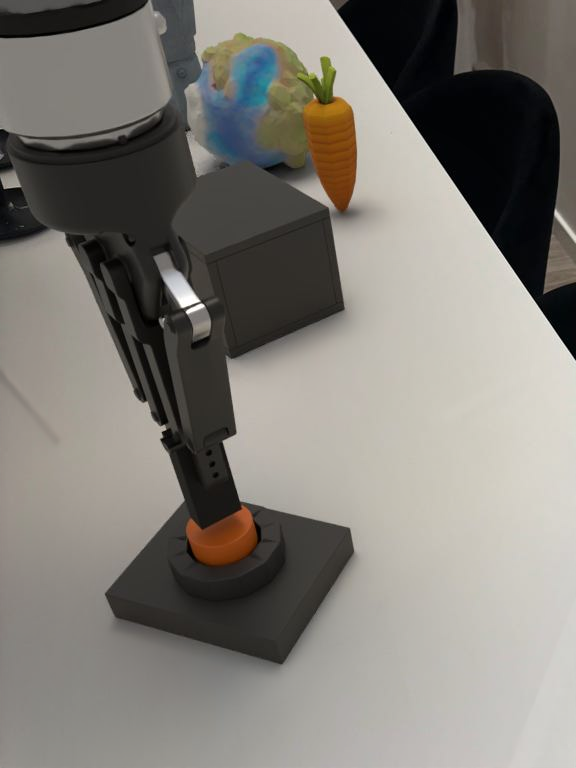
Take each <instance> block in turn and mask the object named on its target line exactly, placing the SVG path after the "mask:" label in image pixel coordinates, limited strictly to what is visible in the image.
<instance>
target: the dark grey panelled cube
mask: <svg viewBox="0 0 576 768" xmlns="http://www.w3.org/2000/svg"><path fill="white" fill-rule="evenodd" d="M172 224H173V225H172V227H173V229H174V230H175V231H176V234H177V235H180V236H181V237H182V239H183V240H184V242H185V244H186V246H187V248H188V251H189V255H190V259H191V262H192V272H191V281H192V284H193V288H194V291H195V294H196V296H197V297H198V299H199V300H202V299H204V298H207V297H209V296H212V295H215V296H216V297H218V298H219V299H220V301H221V302H222V304H223V306H224V308H225V314H226V319H225V326H224V332H223V340H224V347H225V354H226V356H227V357H229V358H230V359H234V358H236V357H239V356H240V355H243V354H245V353H247V352H250V351H252V350H255V349H256V348H259V347H261V346H263V345H266V344H267V343H270V342H272V341H274V340H277V339H279V338H281V337H283V336H286V335H288V334H291V333H293V332H295V331H297V330H299V329H301V328H304V327H306V326H308V325H312V324H313V323H315V322H317V321H321V320H322V319H324V318H326V317H329V316H332V315H334V314H336V313H338V312H340V311H343V310H345V309H346V307H345V302H344V295H343V288H342V281H341V276H340V270H339V262H338V257H337V251H336V244H335V238H334V231H333V224H332V218H331V213H330V207H329V206H327V205H325V204H323V203H321V202H320V201H318V200H317V199H314V198H313V197H311V196H310V195H308V194H306V193H305V192H303V191H301V190H300V189H298V188H296V187H294V186H293V185H291V184H290V183H287V181H284V180H282V179H281V178H279V177H277V176H276V175H274V174H272V173H271V172H269V171H267V170H266V169H265V168H263V169H262V168H260V167H259V166H257V165H255V164H253V163H252V162H250V161H248V160H246V161H243V162H240V163H237V164H234V165H231V166H230V165H229V166H226V167H222V168H219V169H217V170H214V171H211V172H208V173H205V174H202V175H199V176H197V186H196V190H195V192H194V194H193V196H192V198H191V199H190V200H189V201H188V202H187V204H184V205H183V207H182V208H181V209H180V210H179V211H178V213H177V214H176V216H175V218H174V220H173V223H172Z"/></svg>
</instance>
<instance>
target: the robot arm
mask: <svg viewBox="0 0 576 768" xmlns="http://www.w3.org/2000/svg"><path fill="white" fill-rule="evenodd" d="M166 29H167V26H166V19H165V18H164V17H163V16H162V15H161V14H160V12H159V11H154V10H153V6H152V2H151V0H0V128H1V129H2V130H3V131H5V132H7V133H9V134H8V137H7V139H6V141H5V150H6V152H7V154H8V157H9V159H10V161H11V164H12V167H13V170H14V172H15V174H16V177H17V180H18V183H19V185H20V188H21V191H22V193H23V195H24V199H25V201H26V204H27V206H28V209H29V212H30V213H31V215H32V216H33V217H34V218H35V219H36V220H37V221H38V222H39V223H40V224H42V225H43V226H45V227H46V228H49V229H50V230H54V231H57V232H60V233H64V236H65V238H64V240H65V242H66V244H67V246H68V247H69V248H70V249H71V252H72V253H73V255H74V256H75V258H76V260H77V261H76V262H77V263H78V264H79V266H80V268H81V271H82V272H83V274H84V276H85V278H86V281H87V284H88V285H89V288H90V290H91V293H92V295H93V298H94V299H95V302H96V304H97V307H98V309H99V312H100V314H101V316H102V318H103V321H104V323H105V325H106V328H107V330H108V332H109V335H110V337H111V339H112V342H113V345H114V347H115V349H116V352H117V354H118V356H119V359H120V360H121V363H122V365H123V367H124V371H125V372H126V375H127V377H128V379H129V382H130V384H131V386H132V389H133V394H134V396H135V397H136V399H137V400H138V401H139V402H140V403H142V404H145V403H147V404H148V407H149V410H150V416H151V418H152V420H153V421H154V422H155V423H156V424H157V425H158V426H159V427H163V426H164V428H165V430H163V431H161V432H160V433H161V435H162V437H160V438H159V441H160V443H161V445H162V447H163V448H164V450H165V452H167V454H168V456H169V459H170V461H171V465H172V467H173V470H174V473H175V476H176V480H177V482H178V485H179V488H180V491H181V493H182V497H183V500H184V501H185V503H186V506H187V509H188V511H189V514H190V517H191V519H192V520H193V521H194V522H195V523H196V524H197V525H198V526H199V527H200V528H201V529H202V530H203V529H205V528H207V527H209V526H211V525H213V524H215V523H217V522H219V521H221V520H223V519H225V518H226V517H228V516H230V515H232V514H234V513H236V512H238V511H240V510H242V507H241V503H240V501H241V500H240V497H239V493H238V490H237V486H236V482H235V479H234V476H233V473H232V469H231V465H230V463H229V458H228V455H227V451H226V449H225V445H224V441H226V440H227V439H230V438H232V437H234V436H236V435H237V433H238V432H237V431H238V430H237V425H236V417H235V409H234V403H233V397H232V391H231V390H232V389H231V383H230V375H229V367H228V361H227V354H225V347H224V340H223V332H224V326H225V319H226V314H225V308H224V306H223V304H222V302H221V301H220V299H219V298H218V297H216V296H215V295H212V296H209V297H207V298H204V299H202V300H199V299H198V297H197V296H196V294H195V291H194V288H193V284H192V281H191V272H192V262H191V259H190V255H189V251H188V248H187V246H186V244H185V242H184V240H183V239H182V237H181V236H180V235H177V234H176V231H175V230H174V229H173V227H172V225H173V224H172V223H173V220H174V218H175V216H176V214H177V213H178V211H179V210H180V209H181V208H182V207H183V205H184V204H187V202H188V201H189V200H190V199H191V198H192V196H193V194H194V192H195V190H196V186H197V177H198V176H197V171H196V168H195V164H194V160H193V155H192V153H191V148H190V145H189V141H188V137H187V132H186V131H185V128H184V124H183V120H182V116H181V114H180V112H179V111H178V110H177V109H176V108H174V107H173V106H172V105H171V104H170V103H168V102H169V101H170V99H171V97H172V95H173V85H172V81H171V77H170V73H169V69H168V66H167V62H166V58H165V54H164V50H163V47H162V43H161V39H160V36H161V35H162V34H164V33H165V32H166Z"/></svg>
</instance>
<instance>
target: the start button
mask: <svg viewBox="0 0 576 768" xmlns="http://www.w3.org/2000/svg"><path fill="white" fill-rule="evenodd" d="M241 507H242V510H240V511H238V512H236V513H234V514H232V515H230V516H228V517H226V518H225V519H223V520H221V521H219V522H217V523H215V524H213V525H211V526H209V527H207V528H205V529H203V530H202V529H201V528H200V527H199V526H198V525H197V524H196V523H195V522H194V521H193V520H192V519H190V520H189V522H188V524H187V528H186V533H187V537H188V540H189V542H190V545H191V548H192V551H193V554H194V556H195V558H196V559H197V560H198V561H199V562H201V563H202V564H204V565H207V566H211V567H218V566H225V565H231V564H235V563H237V562H238V561H240V560H242V559H244V558H246V557H247V556H249V555H250V554H251V553H252V552H253V551H254V549H255V547H256V545H257V542H258V536H257V532H256V529H255V525H254V522H253V518H252V515H251V513H250V511H249V510H248V509H247V508H246V507H244V506H243V505H241Z"/></svg>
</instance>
